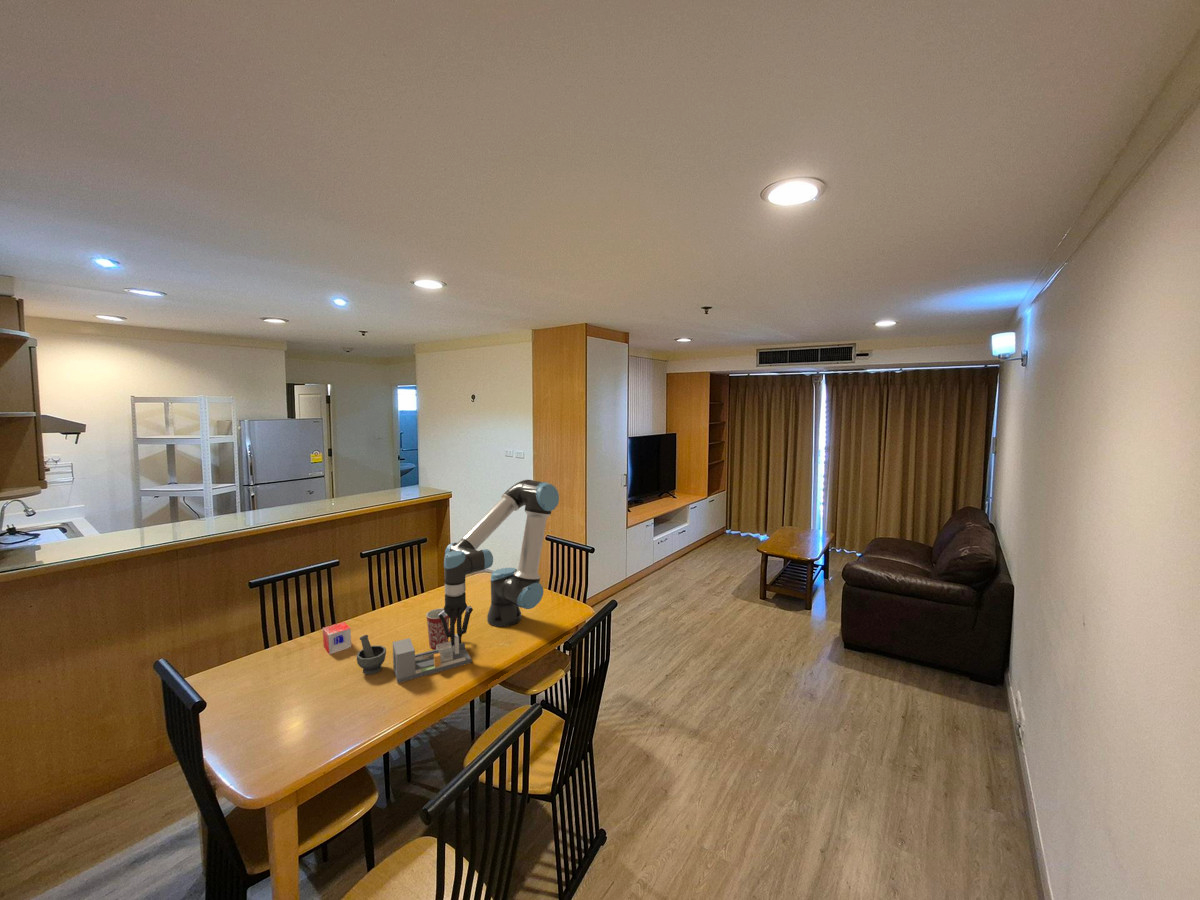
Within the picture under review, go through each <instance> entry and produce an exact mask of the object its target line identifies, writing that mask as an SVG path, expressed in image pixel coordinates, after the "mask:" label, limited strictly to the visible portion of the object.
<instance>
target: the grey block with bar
mask: <svg viewBox="0 0 1200 900" xmlns="http://www.w3.org/2000/svg"><path fill="white" fill-rule="evenodd" d="M435 650H436V652H435V653H431V654H427V655H423V656H419V657H415V662H418V661H422V660H426V659H430V658H433V657H434V654H437V653H440V657H441V663H443V662H447V661H451V660H453V647H452V645H451V643H450V641H449V640H448V642H445V643H441V644H437V645H436V649H435Z"/></svg>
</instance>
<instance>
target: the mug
mask: <svg viewBox="0 0 1200 900" xmlns="http://www.w3.org/2000/svg"><path fill="white" fill-rule="evenodd" d="M443 610H444V607H443V608H435V609H432V610H430V611H428V612H427V613H426V615H425V617H426V623H427V633H428V643H429V645H428V646H429V648H430V649H432V650H436V645H437V644H441V643H445V642H449V638H447V636H446V635H445V632H444V628H443V625H442V622H441V619H440V618H439V616H438V613H439V612H440V613H441V612H442V611H443ZM444 618H445V620H446V624H447V627H448V630H449V633H450V618H449V616H448V615H447V614H446V613H445V617H444ZM455 624H457V617H455Z"/></svg>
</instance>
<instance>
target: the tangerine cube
mask: <svg viewBox="0 0 1200 900" xmlns="http://www.w3.org/2000/svg"><path fill="white" fill-rule="evenodd" d="M434 666H435V667H438V666H441V657H440V653H437V654H434Z"/></svg>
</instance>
